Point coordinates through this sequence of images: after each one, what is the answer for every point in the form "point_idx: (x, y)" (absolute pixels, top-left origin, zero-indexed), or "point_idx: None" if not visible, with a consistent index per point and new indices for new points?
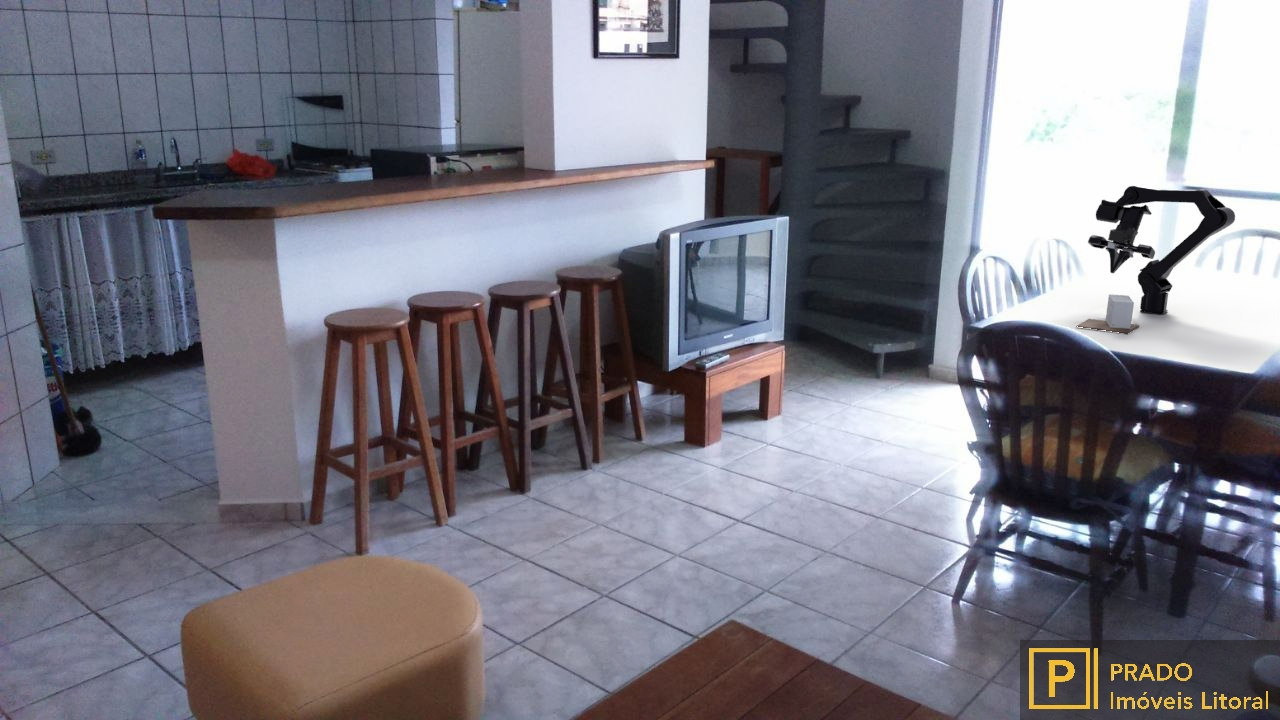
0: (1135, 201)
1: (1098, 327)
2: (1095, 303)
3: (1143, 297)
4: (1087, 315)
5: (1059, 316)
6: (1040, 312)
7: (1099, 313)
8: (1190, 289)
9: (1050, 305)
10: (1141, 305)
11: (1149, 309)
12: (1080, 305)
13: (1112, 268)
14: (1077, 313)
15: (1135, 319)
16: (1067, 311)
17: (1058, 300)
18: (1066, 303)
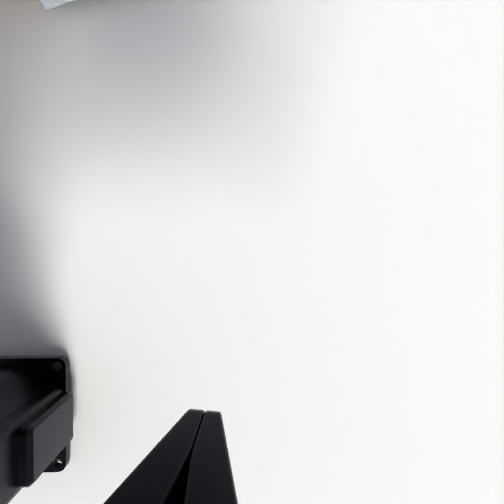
0: None
1: None
2: (323, 456)
3: (20, 421)
4: (264, 114)
5: (368, 4)
6: (473, 46)
7: (230, 203)
8: None
9: (490, 256)
10: (57, 400)
11: (12, 371)
12: (369, 353)
13: (197, 444)
14: (319, 134)
15: (41, 161)
16: (374, 154)
17: (499, 415)
18: (442, 361)
